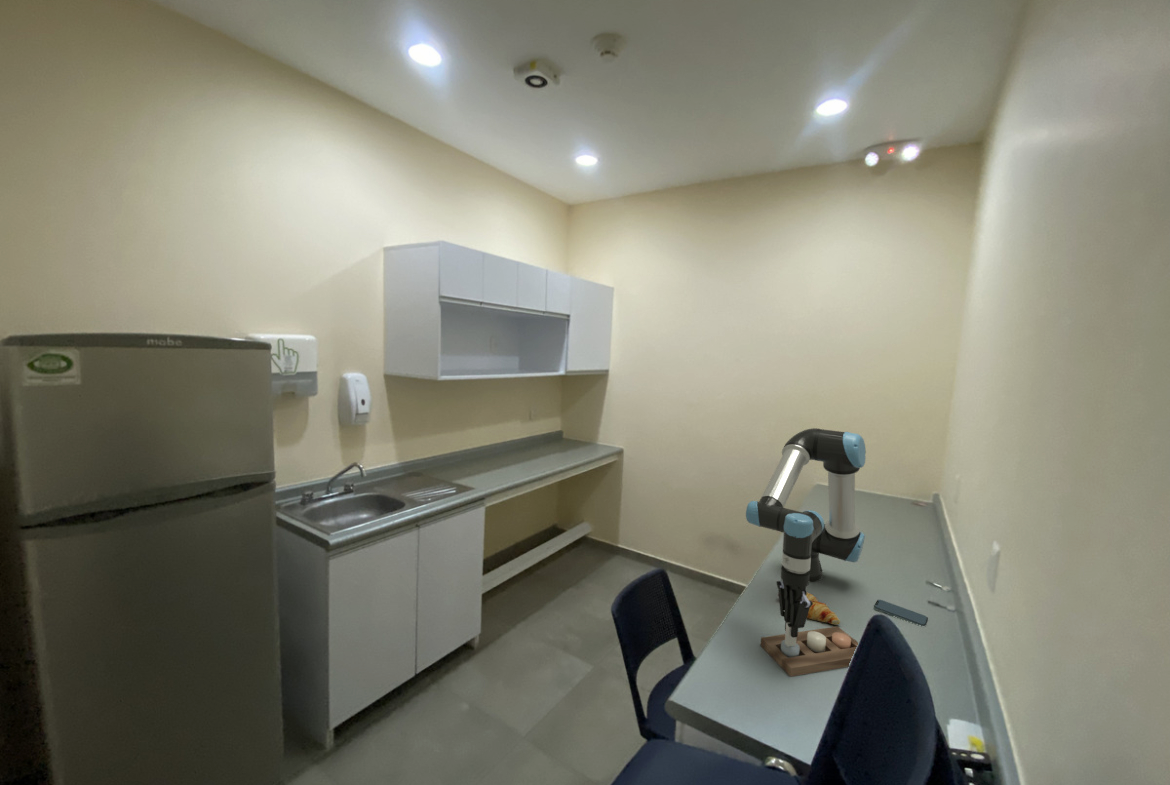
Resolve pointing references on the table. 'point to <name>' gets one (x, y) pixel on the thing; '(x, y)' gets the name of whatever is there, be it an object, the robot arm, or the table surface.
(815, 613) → the croissant
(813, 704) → the table surface
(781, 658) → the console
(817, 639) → the cream button
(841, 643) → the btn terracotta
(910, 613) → the smartphone
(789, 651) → the slate button
